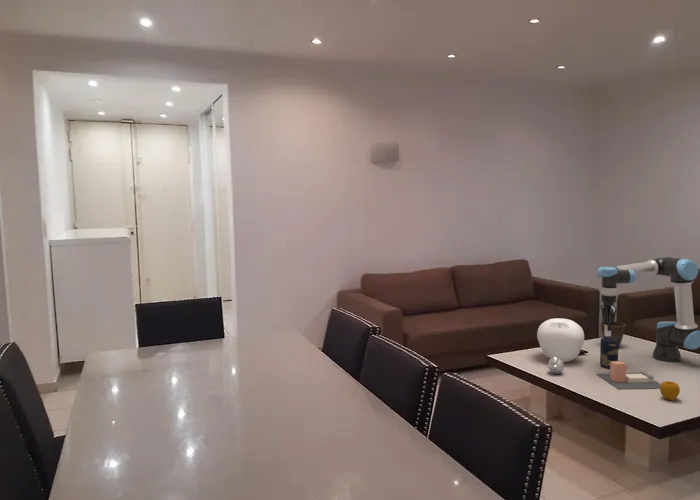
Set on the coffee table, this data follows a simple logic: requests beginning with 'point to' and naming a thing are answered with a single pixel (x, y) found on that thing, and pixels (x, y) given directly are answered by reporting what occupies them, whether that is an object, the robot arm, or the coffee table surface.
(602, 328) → the plant pot
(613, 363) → the pink upright block
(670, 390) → the apple
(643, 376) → the ticket booklet
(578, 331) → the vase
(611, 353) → the canister
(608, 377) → the slate mat
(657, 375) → the coffee table surface
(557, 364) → the silver round lump
